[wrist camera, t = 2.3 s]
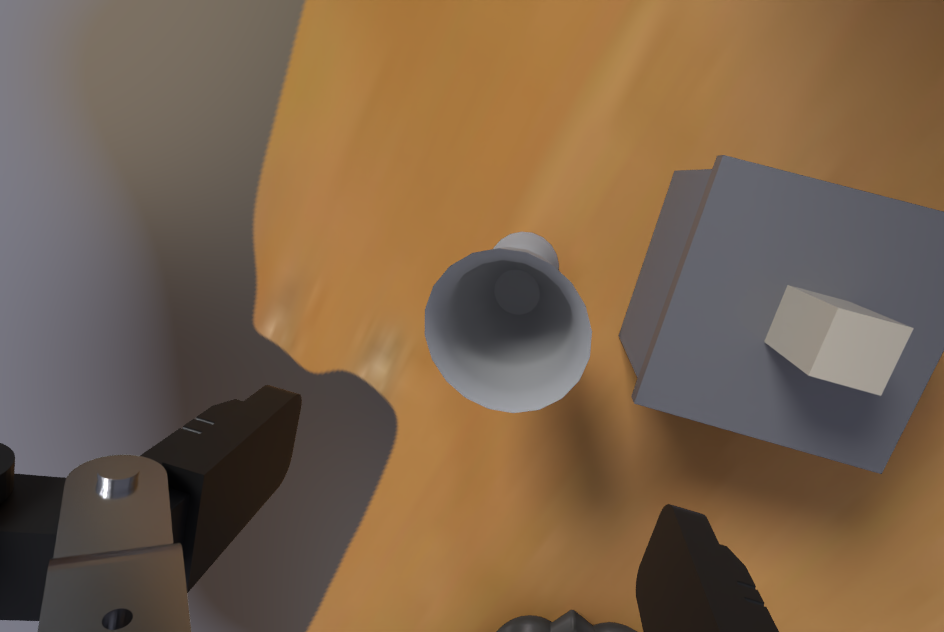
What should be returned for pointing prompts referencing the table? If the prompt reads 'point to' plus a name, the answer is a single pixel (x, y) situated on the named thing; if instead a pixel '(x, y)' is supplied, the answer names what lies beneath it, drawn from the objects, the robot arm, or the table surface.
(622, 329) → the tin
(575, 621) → the bundt pan
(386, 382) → the table surface
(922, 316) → the lid
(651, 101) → the table surface
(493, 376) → the chalice
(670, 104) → the table surface
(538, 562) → the table surface
